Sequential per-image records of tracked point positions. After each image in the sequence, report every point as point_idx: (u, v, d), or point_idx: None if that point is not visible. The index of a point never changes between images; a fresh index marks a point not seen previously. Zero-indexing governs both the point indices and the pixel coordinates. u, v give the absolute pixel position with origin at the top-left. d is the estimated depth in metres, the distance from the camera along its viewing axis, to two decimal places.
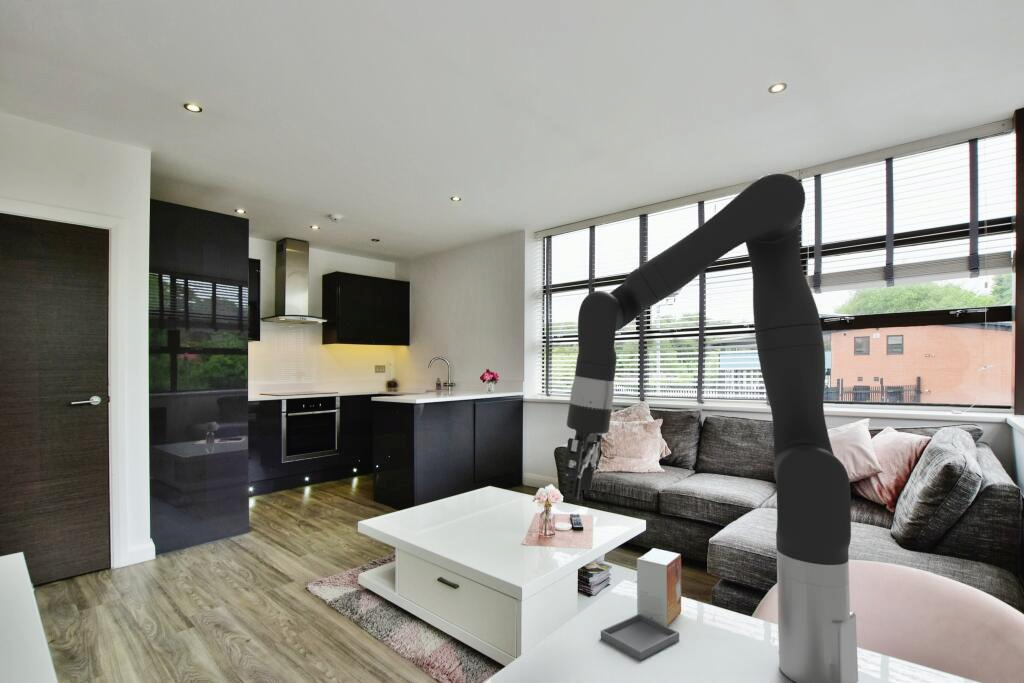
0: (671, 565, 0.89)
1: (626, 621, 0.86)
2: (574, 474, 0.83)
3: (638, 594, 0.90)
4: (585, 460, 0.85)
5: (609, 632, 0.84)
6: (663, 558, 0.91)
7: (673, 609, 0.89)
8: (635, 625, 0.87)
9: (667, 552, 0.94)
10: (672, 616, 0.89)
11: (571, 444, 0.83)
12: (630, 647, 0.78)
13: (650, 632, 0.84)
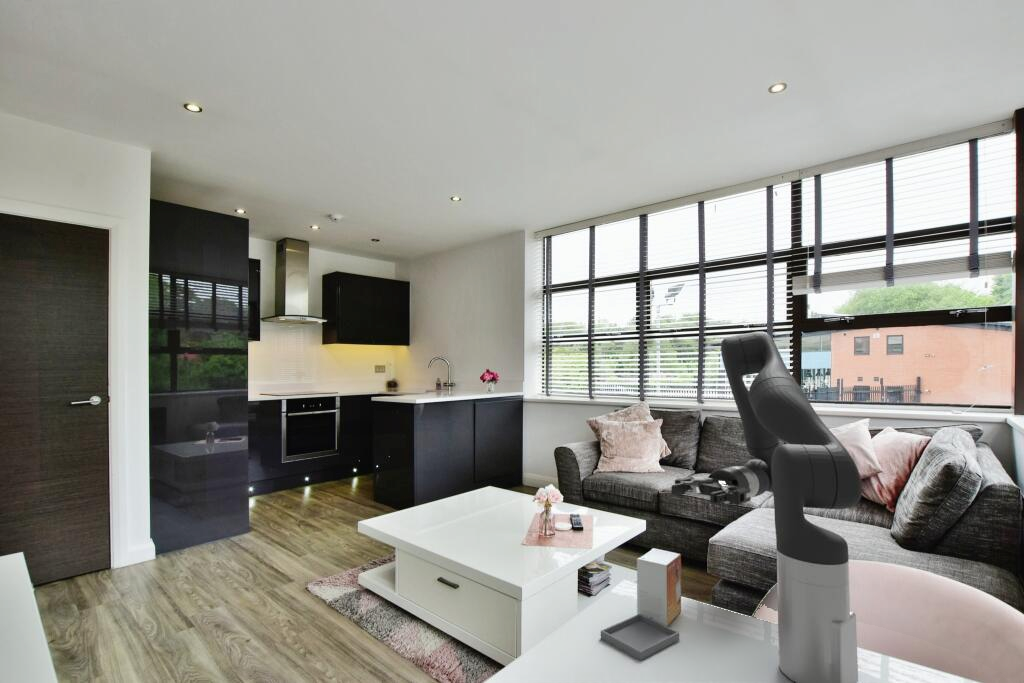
0: (670, 565, 0.89)
1: (626, 621, 0.86)
2: (675, 481, 1.08)
3: (638, 594, 0.90)
4: None
5: (609, 632, 0.84)
6: (663, 558, 0.91)
7: (673, 609, 0.89)
8: (635, 625, 0.87)
9: (667, 552, 0.94)
10: (672, 616, 0.89)
11: None
12: (630, 647, 0.78)
13: (650, 632, 0.84)
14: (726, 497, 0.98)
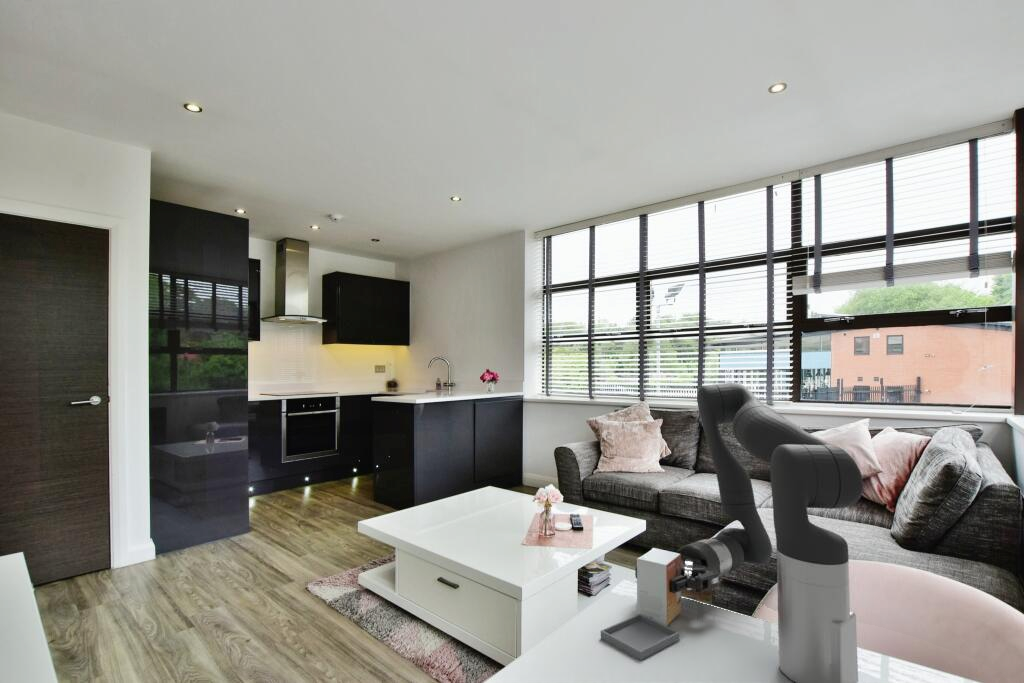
0: (670, 565, 0.89)
1: (626, 621, 0.86)
2: None
3: (638, 594, 0.90)
4: None
5: (609, 632, 0.84)
6: (663, 558, 0.91)
7: (673, 609, 0.89)
8: (635, 625, 0.87)
9: (667, 552, 0.94)
10: (672, 616, 0.89)
11: None
12: (630, 647, 0.78)
13: (650, 632, 0.84)
14: (687, 583, 0.89)
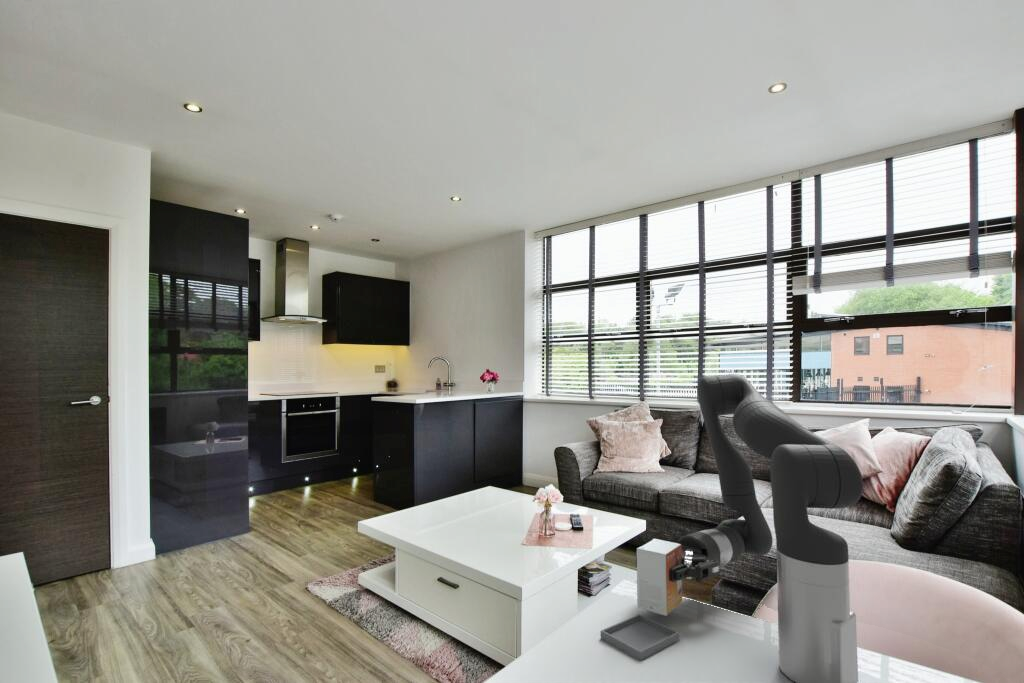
0: (670, 554, 0.89)
1: (626, 621, 0.86)
2: None
3: (638, 583, 0.90)
4: None
5: (609, 632, 0.84)
6: (663, 548, 0.91)
7: (673, 599, 0.89)
8: (635, 625, 0.87)
9: (668, 542, 0.94)
10: (672, 606, 0.89)
11: None
12: (630, 647, 0.78)
13: (650, 632, 0.84)
14: (687, 572, 0.89)
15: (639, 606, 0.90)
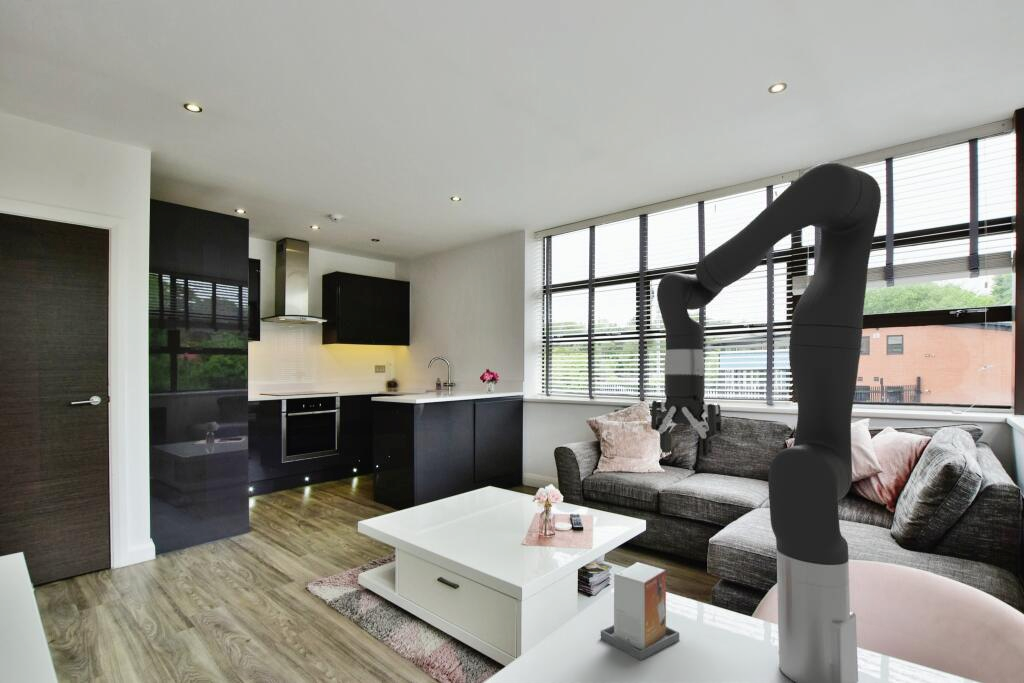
0: (650, 582, 0.80)
1: None
2: None
3: (615, 613, 0.82)
4: None
5: (609, 632, 0.84)
6: (644, 575, 0.82)
7: (654, 631, 0.81)
8: None
9: (651, 567, 0.85)
10: (652, 639, 0.80)
11: None
12: (630, 647, 0.78)
13: None
14: (709, 440, 0.95)
15: None
